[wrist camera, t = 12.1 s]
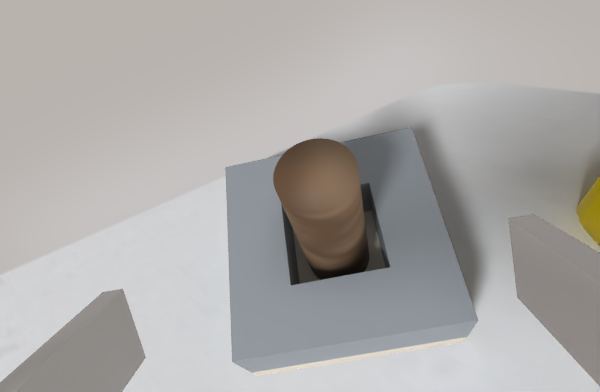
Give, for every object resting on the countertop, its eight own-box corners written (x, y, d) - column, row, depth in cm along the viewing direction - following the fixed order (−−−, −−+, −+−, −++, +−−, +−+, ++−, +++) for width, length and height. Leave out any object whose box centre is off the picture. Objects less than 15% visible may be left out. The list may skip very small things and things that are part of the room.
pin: (362, 223, 32) (349, 131, 23) (374, 279, 30) (366, 200, 20) (305, 235, 32) (269, 148, 23) (313, 290, 30) (277, 218, 21)
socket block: (409, 169, 35) (411, 127, 31) (464, 341, 28) (478, 320, 23) (246, 203, 37) (225, 167, 32) (257, 376, 29) (232, 361, 25)
